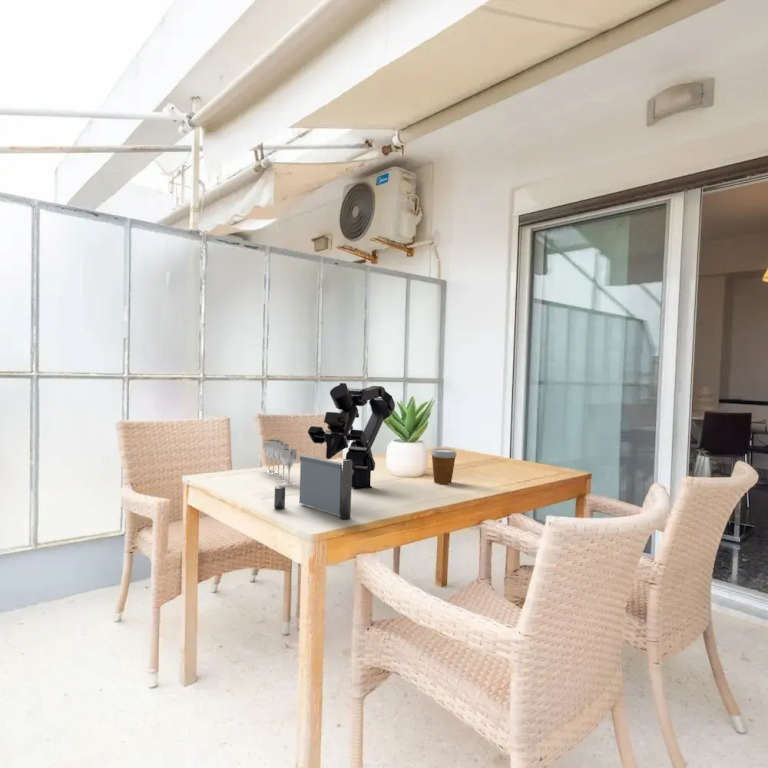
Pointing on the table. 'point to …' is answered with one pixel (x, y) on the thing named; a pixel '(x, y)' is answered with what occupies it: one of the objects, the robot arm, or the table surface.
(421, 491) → the table surface
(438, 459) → the disposable coffee cup
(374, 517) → the table surface
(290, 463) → the goblet set
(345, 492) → the posts
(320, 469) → the panel
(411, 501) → the table surface
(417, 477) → the table surface
